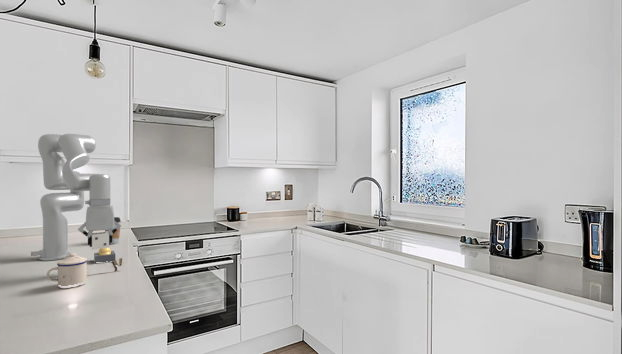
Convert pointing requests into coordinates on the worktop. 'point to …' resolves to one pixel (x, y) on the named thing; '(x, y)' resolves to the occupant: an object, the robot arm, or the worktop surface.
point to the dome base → (104, 257)
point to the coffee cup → (116, 235)
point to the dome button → (104, 251)
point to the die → (100, 240)
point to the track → (119, 261)
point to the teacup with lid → (70, 270)
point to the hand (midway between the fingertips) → (100, 245)
